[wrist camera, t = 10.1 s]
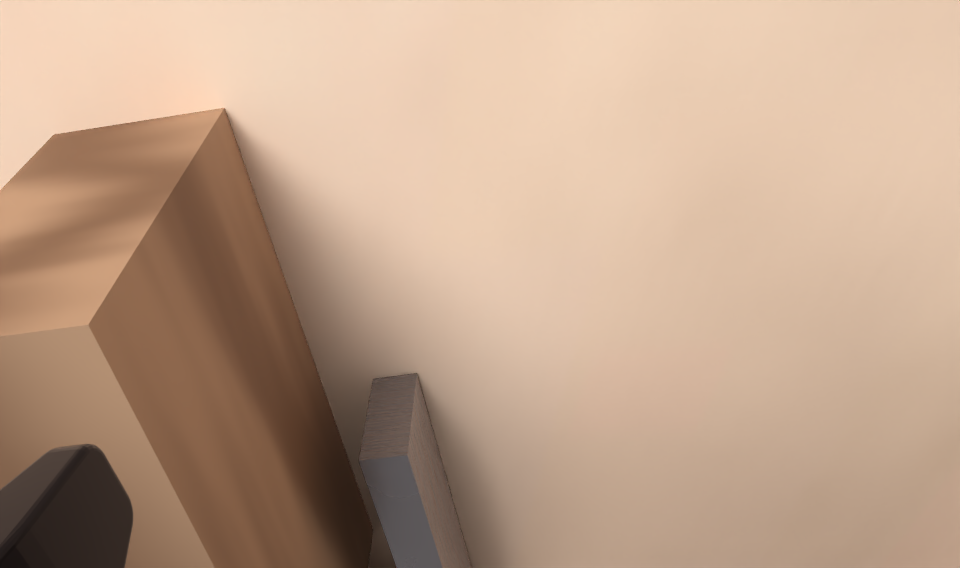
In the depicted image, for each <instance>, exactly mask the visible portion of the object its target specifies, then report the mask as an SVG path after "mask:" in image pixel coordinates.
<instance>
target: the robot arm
mask: <svg viewBox="0 0 960 568" xmlns="http://www.w3.org/2000/svg"><path fill="white" fill-rule="evenodd" d="M132 527H133V508H132V504H131V500H130V498H129V496H128V494H127V492H126V491H125V489H124V487H123V485H122V484H121V482H120V480H119V479H118V477H117V475H116V473H115V472H114V470H113V468H112V466H111V465H110V463H109V461H108V459H107V458H106V456H105V454H104V453H103V451H102V450H101V449H100V448H98V447H97V446H96V445H93V444H79V445H71V446H63V447H57V448H53V449H51V450H49V451H48V452H46V453H45V454H44V455H42V456H41V457H40V458H39V459H37V460H36V461H35V462H34V463H32V464H31V465H30V466H29V467H27V468H26V469H25V470H24V471H22V472H21V473H20V474H19V475H18V476H16V477H15V478H14V479H13V480H11V481H10V482H9V483H8V484H6V485H5V486H4V487H3V488H1V489H0V568H125V563H126V558H127V553H128V548H129V542H130V537H131V532H132Z"/></svg>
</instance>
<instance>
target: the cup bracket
mask: <svg viewBox="0 0 960 568" xmlns="http://www.w3.org/2000/svg"><path fill="white" fill-rule="evenodd" d="M359 463H360V466H361V469H362V472H363V475H364V477H365V480H366V483H367V486H368V489H369V491H370V494H371V497H372V500H373V503H374V505H375V508H376V511H377V514H378V517H379V520H380V522H381V525H382V528H383V531H384V534H385V536H386V539H387V542H388V545H389V548H390V550H391V553H392V556H393V559H394V562H395V564H396V567H397V568H472V567H471V563H470V560H469V556H468V553H467V549H466V546H465V542H464V539H463V535H462V531H461V528H460V524H459V521H458V517H457V514H456V510H455V507H454V503H453V500H452V496H451V493H450V489H449V485H448V482H447V478H446V475H445V471H444V468H443V464H442V461H441V457H440V454H439V450H438V447H437V443H436V439H435V436H434V432H433V429H432V425H431V422H430V418H429V415H428V411H427V408H426V404H425V401H424V397H423V393H422V390H421V386H420V383H419V379H418V376H417V373H415V374H408V375H400V376H392V377H384V378H376V379H373V382H372V387H371V393H370V399H369V404H368V410H367V416H366V421H365V427H364V433H363V438H362V444H361V450H360V455H359Z"/></svg>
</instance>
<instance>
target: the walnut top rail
mask: <svg viewBox="0 0 960 568" xmlns="http://www.w3.org/2000/svg"><path fill="white" fill-rule="evenodd" d="M79 444H93V445H96V446H97V447H98V448H100V449H101V450H102V451H103V453H104V454H105V456H106V458H107V459H108V461H109V463H110V465H111V466H112V468H113V470H114V472H115V473H116V475H117V477H118V479H119V480H120V482H121V484H122V485H123V487H124V489H125V491H126V492H127V494H128V496H129V498H130V500H131V504H132V508H133V527H132V532H131V537H130V542H129V548H128V553H127V558H126V563H125V568H368V564H369V557H370V550H371V543H372V536H373V528H372V525H371V522H370V519H369V516H368V514H367V511H366V508H365V505H364V502H363V499H362V497H361V494H360V491H359V488H358V485H357V482H356V480H355V477H354V474H353V471H352V468H351V465H350V463H349V460H348V457H347V454H346V451H345V448H344V446H343V443H342V440H341V437H340V434H339V431H338V429H337V426H336V423H335V420H334V417H333V414H332V412H331V409H330V406H329V403H328V400H327V397H326V395H325V392H324V389H323V386H322V383H321V380H320V378H319V375H318V372H317V369H316V366H315V363H314V360H313V358H312V355H311V352H310V349H309V346H308V343H307V341H306V338H305V335H304V332H303V329H302V326H301V324H300V321H299V318H298V315H297V312H296V309H295V307H294V304H293V301H292V298H291V295H290V292H289V290H288V287H287V284H286V281H285V278H284V275H283V273H282V270H281V267H280V264H279V261H278V258H277V256H276V253H275V250H274V247H273V244H272V241H271V239H270V236H269V233H268V230H267V227H266V224H265V222H264V219H263V216H262V213H261V210H260V207H259V205H258V202H257V199H256V196H255V193H254V190H253V188H252V185H251V182H250V179H249V176H248V173H247V171H246V168H245V165H244V162H243V159H242V156H241V154H240V151H239V148H238V145H237V142H236V139H235V137H234V134H233V131H232V128H231V125H230V122H229V120H228V117H227V114H226V111H225V108H221V109H214V110H208V111H202V112H195V113H189V114H183V115H176V116H170V117H163V118H157V119H151V120H144V121H138V122H132V123H125V124H119V125H112V126H106V127H100V128H93V129H87V130H81V131H74V132H68V133H61V134H55V135H53V136H52V137H51V138H50V139H49V140H48V141H47V142H46V143H45V144H44V146H43V147H42V148H41V149H40V150H39V151H38V152H37V153H36V154H35V155H34V156H33V157H32V158H31V159H30V160H29V161H28V162H27V163H26V164H25V165H24V166H23V167H22V168H21V169H20V170H19V172H18V173H17V174H16V175H15V176H14V177H13V178H12V179H11V180H10V181H9V182H8V183H7V184H6V185H5V186H4V187H3V188H2V189H1V190H0V489H1V488H3V487H4V486H5V485H6V484H8V483H9V482H10V481H11V480H13V479H14V478H15V477H16V476H18V475H19V474H20V473H21V472H22V471H24V470H25V469H26V468H27V467H29V466H30V465H31V464H32V463H34V462H35V461H36V460H37V459H39V458H40V457H41V456H42V455H44V454H45V453H46V452H48V451H49V450H51V449H53V448H57V447H63V446H71V445H79Z"/></svg>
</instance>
